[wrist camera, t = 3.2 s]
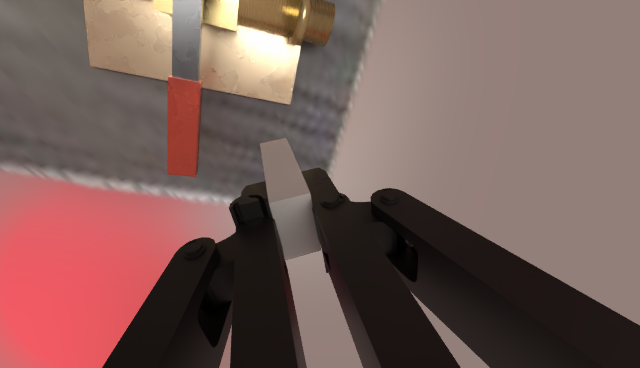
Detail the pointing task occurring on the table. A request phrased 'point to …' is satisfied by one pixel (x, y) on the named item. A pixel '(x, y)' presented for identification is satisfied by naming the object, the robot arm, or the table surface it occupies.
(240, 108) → the table surface
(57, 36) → the table surface
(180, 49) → the lever
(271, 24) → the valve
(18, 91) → the table surface
